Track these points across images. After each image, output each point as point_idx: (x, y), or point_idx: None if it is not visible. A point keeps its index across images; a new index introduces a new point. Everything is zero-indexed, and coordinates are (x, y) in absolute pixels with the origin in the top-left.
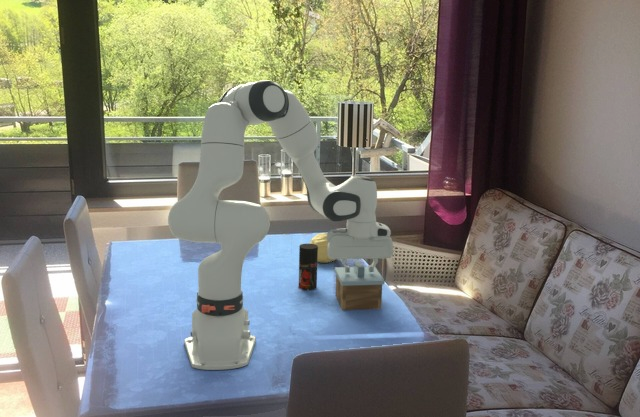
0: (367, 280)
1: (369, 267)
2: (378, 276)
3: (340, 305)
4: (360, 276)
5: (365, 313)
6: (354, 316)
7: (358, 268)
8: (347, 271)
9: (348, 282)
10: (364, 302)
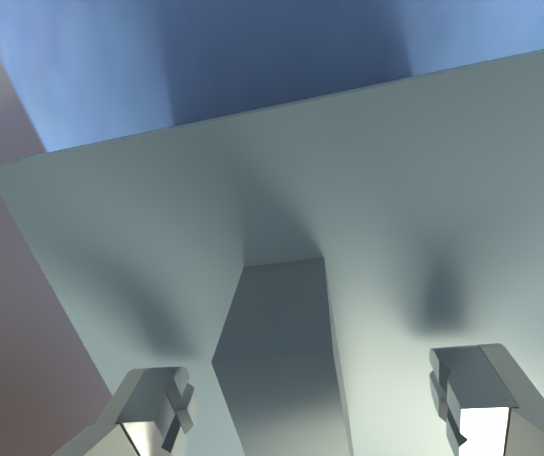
0: (195, 153)
1: (163, 418)
2: (89, 296)
3: None
4: (288, 265)
5: (261, 94)
6: (334, 30)
7: (325, 345)
8: (470, 352)
9: (486, 65)
10: None
